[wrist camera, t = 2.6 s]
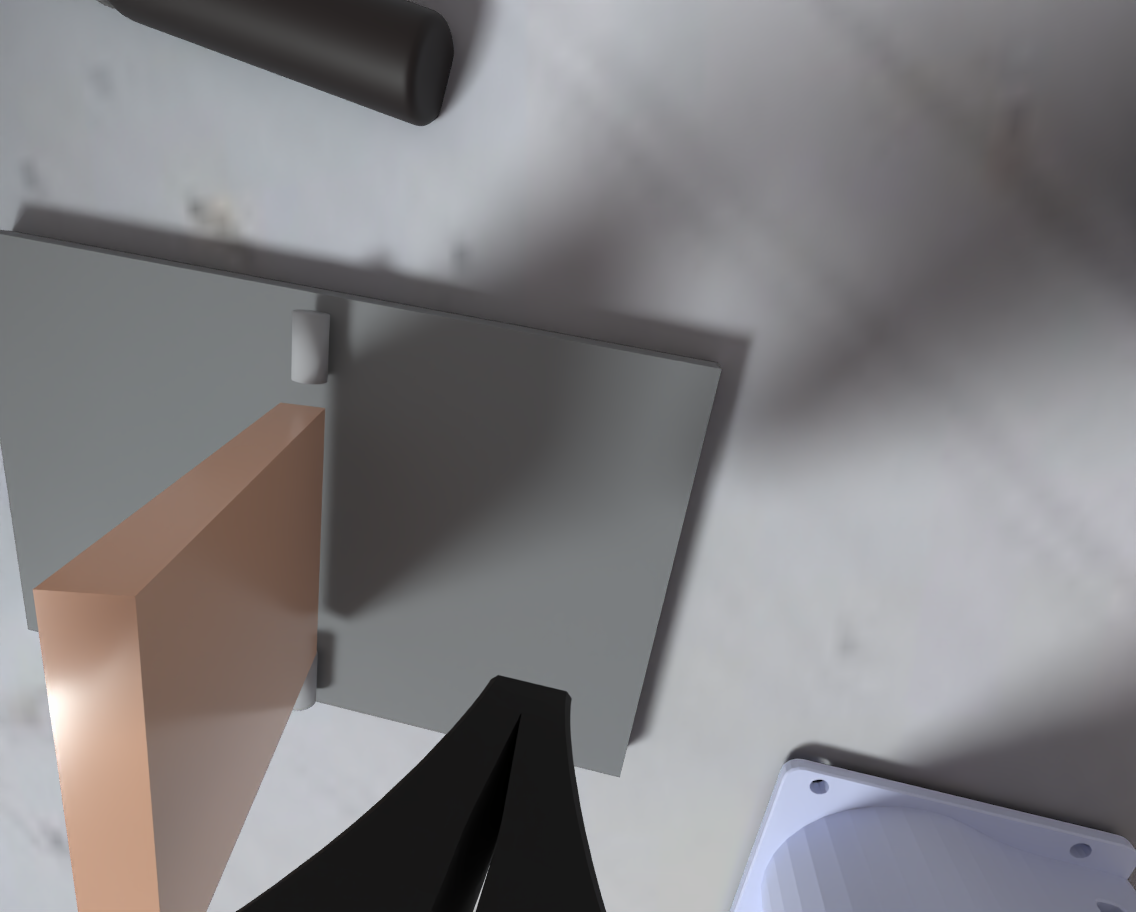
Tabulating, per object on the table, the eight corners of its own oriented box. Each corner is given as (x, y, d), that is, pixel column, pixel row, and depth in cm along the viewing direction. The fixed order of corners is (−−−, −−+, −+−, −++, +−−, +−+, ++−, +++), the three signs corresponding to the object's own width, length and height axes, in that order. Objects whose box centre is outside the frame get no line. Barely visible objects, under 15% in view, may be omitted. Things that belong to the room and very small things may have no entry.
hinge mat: (717, 362, 14) (726, 376, 12) (621, 750, 18) (617, 804, 16) (9, 230, 16) (-74, 225, 14) (58, 611, 20) (-2, 646, 18)
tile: (134, 597, 7) (28, 589, 6) (167, 1004, 9) (86, 1006, 9) (324, 407, 14) (278, 402, 14) (316, 653, 16) (275, 651, 16)
